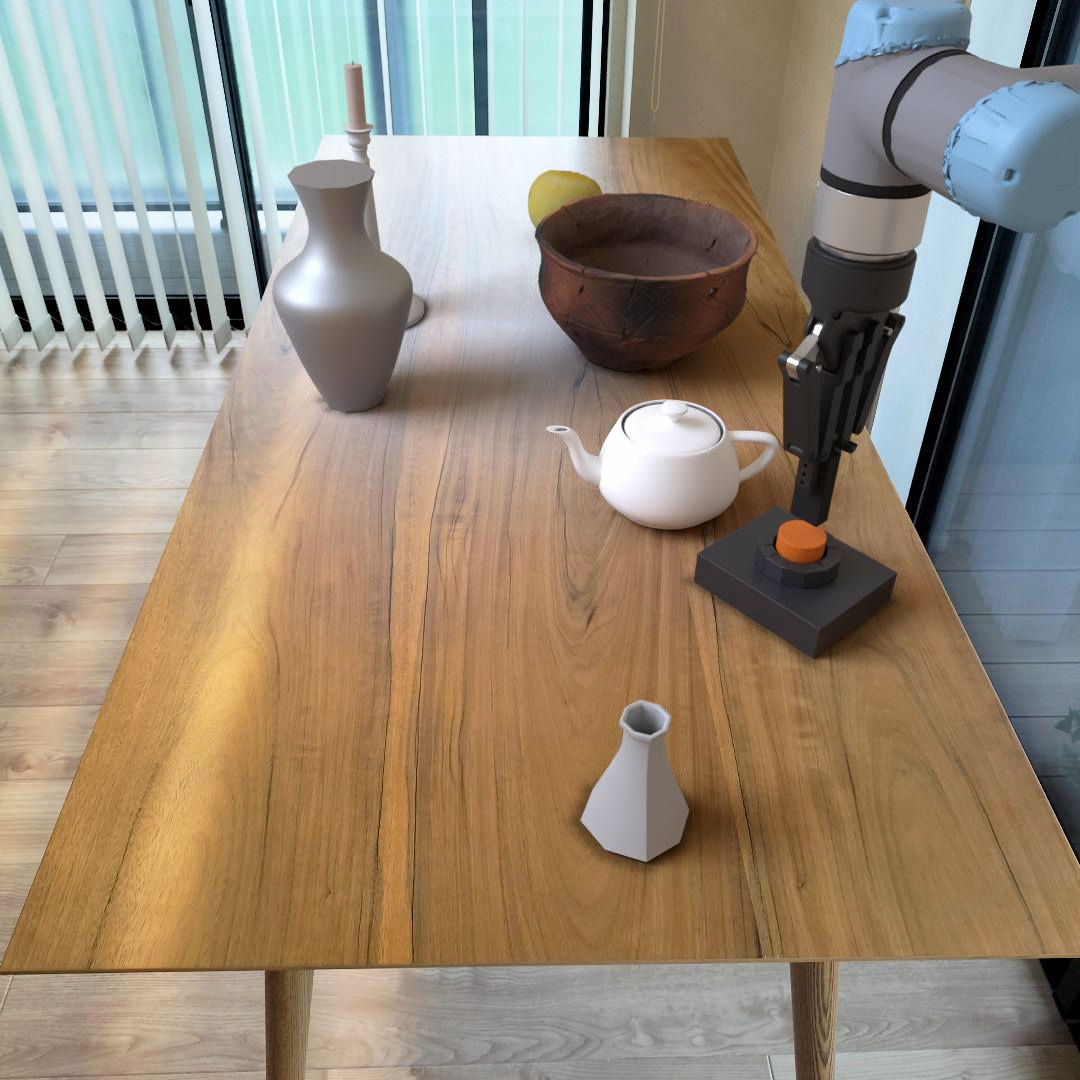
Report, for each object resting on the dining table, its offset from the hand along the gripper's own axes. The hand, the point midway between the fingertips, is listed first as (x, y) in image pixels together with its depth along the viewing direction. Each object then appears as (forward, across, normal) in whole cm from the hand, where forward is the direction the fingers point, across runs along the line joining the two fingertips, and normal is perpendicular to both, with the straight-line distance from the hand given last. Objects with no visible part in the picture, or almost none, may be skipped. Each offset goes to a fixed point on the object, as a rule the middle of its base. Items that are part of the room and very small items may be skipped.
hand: (808, 516), depth 89 cm
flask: (+9, +28, +8) cm, 30 cm away
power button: (+4, 0, 0) cm, 4 cm away
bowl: (+8, -22, -40) cm, 47 cm away
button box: (+8, 0, 0) cm, 8 cm away
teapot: (+8, -1, -17) cm, 19 cm away
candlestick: (+8, -4, -69) cm, 70 cm away
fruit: (+8, -39, -71) cm, 82 cm away
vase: (+8, +10, -53) cm, 55 cm away
